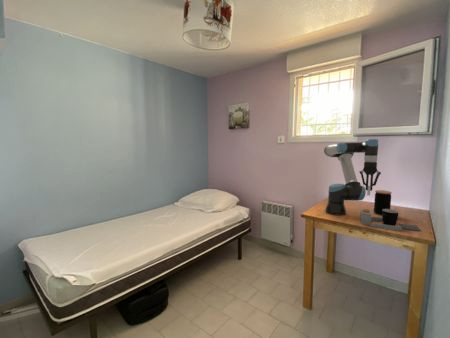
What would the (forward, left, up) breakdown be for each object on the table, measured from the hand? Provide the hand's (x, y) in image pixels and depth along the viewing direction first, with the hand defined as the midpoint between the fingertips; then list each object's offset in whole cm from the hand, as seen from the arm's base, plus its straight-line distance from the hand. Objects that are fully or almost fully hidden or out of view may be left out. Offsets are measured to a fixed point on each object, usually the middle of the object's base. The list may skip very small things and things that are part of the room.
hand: (368, 195), depth 159 cm
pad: (+24, +1, -20) cm, 32 cm away
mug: (+12, 0, -20) cm, 24 cm away
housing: (+7, 0, -20) cm, 22 cm away
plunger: (-1, 0, -16) cm, 16 cm away
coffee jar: (+12, +29, -20) cm, 38 cm away
